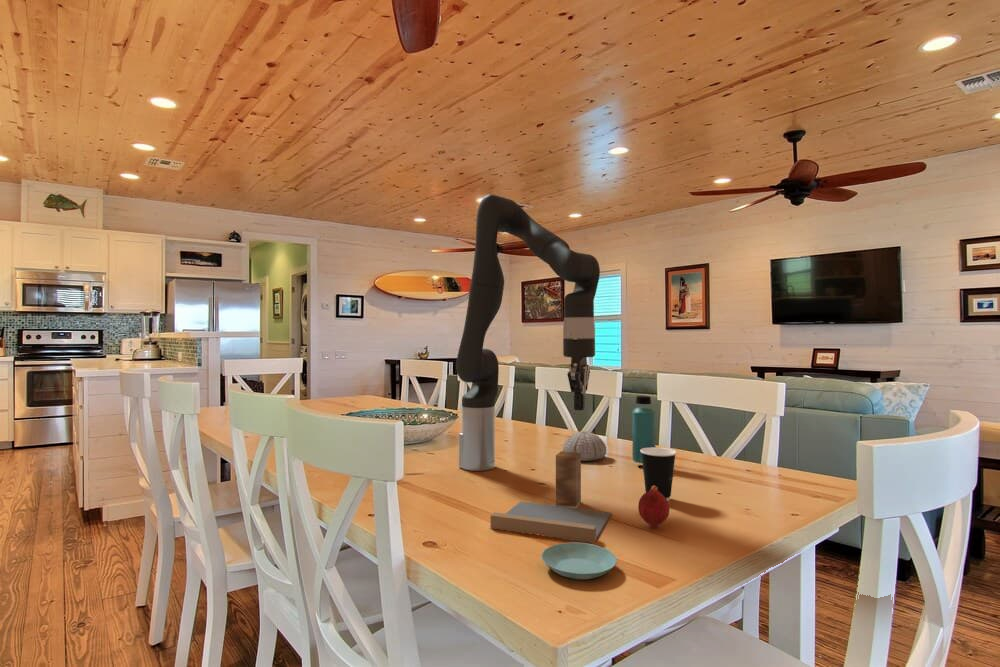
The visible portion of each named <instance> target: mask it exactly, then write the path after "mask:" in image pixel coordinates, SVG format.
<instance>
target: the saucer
mask: <svg viewBox="0 0 1000 667" xmlns="http://www.w3.org/2000/svg"><path fill="white" fill-rule="evenodd" d="M540 556H541V560H542V561H543V563H544V564H545V565H546V566H547V567H548V568H550V569H551V570H552V571H553V572H554V573H557V574H558V575H560V576H562V577H564V578H568V579H571V580H580V581H581V580H582V581H583V580H584V581H586V580H593V579H596V578H599V577H601V576H603V575H605V574H607V573H608V572H609V571H610V570H612V569H613V568H614V567H615V566H616V565H617V557H616V555H615V554H614V553H613V552H612V551H611V550H608V549H607V548H605V547H603V546H599V545H596V544H594V543H588V542H578V541H575V542H563V543H557V544H554V545H551V546H549V547H547V548H545V549H544V550H543V551H542V553H541V555H540Z"/></svg>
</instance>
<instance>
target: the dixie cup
mask: <svg viewBox="0 0 1000 667" xmlns="http://www.w3.org/2000/svg"><path fill="white" fill-rule="evenodd" d="M640 452H641V453H642V462H643V463H642V468H643V469H642V470H643V478H644V480H643V481H644V488H645V489H644V491H645V493H646V492H648V491H649V490H650V489H651V487H652V486H654V485H655V486H656V487H658V489H657V490H658V491H659V492H660V493H661V494H663V496H664V497H665V498H666V500H667V501H668V502H670V498H671V496H672V495H671V494H672V487H673V478H674V471H675V469H674V468H675V462H676V461H675V460H676V455H677V454H678V453H677V451H676V450H674V449H671V448H666V447H665V448H664V447H655V448H643V449H641V450H640Z"/></svg>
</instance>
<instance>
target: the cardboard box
mask: <svg viewBox="0 0 1000 667" xmlns="http://www.w3.org/2000/svg"><path fill="white" fill-rule="evenodd" d="M581 503H582V461H581V453H575V452H563V450H561V451H560V452H558V453H557V454H556V455H555V506H561V507H570V508H578V507H579V505H580V504H581Z"/></svg>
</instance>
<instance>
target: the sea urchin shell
mask: <svg viewBox="0 0 1000 667" xmlns="http://www.w3.org/2000/svg"><path fill="white" fill-rule="evenodd" d="M562 451H563V452H575V453H581V462H591V461H597V459H598V460H601V459H603V458H604V457H605V456H606V455H607V452H608V450H607V446H606V444H605V442H604V441H603V440H602V438H601V437H600V436H598V435H597V434H595V433H593V432H588V431H577V432H574V433H573V434H571V435H570V436H568V438H567V439H566V440H565V442H564V444H563V445H562Z"/></svg>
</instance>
